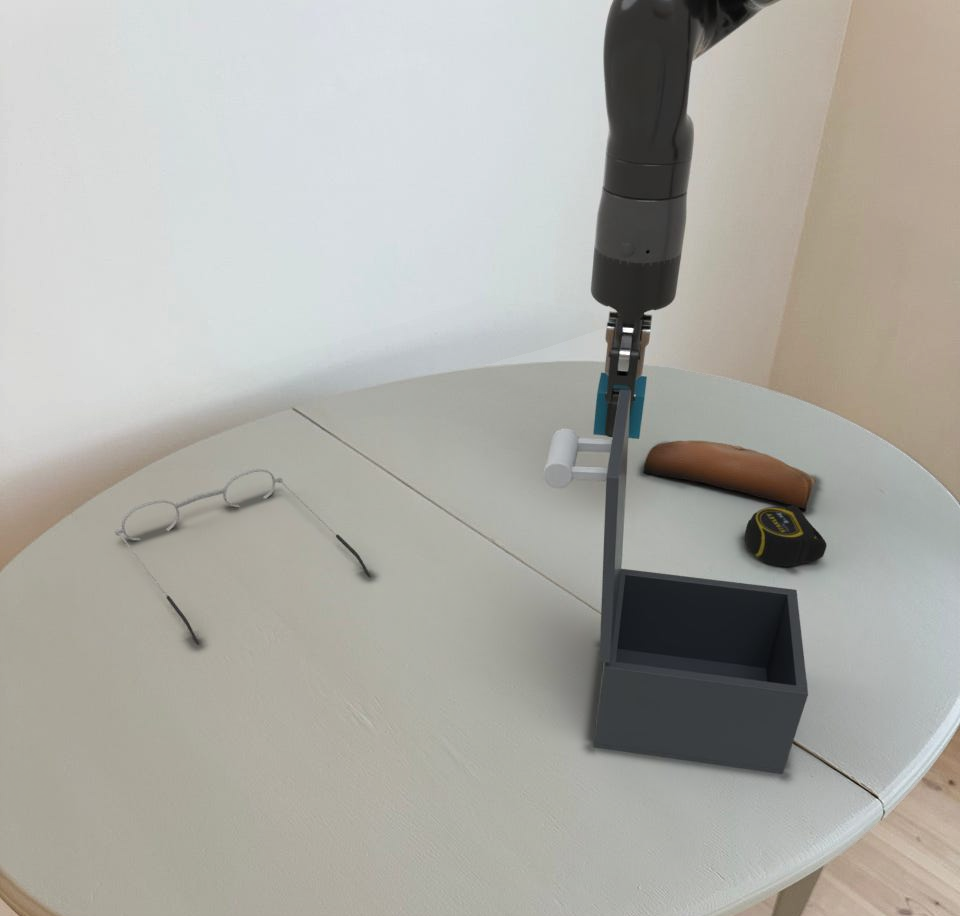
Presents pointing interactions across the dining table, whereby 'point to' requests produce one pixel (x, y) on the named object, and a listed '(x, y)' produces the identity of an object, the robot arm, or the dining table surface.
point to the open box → (703, 672)
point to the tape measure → (783, 537)
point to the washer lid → (564, 471)
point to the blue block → (635, 409)
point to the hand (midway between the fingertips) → (618, 422)
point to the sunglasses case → (731, 470)
